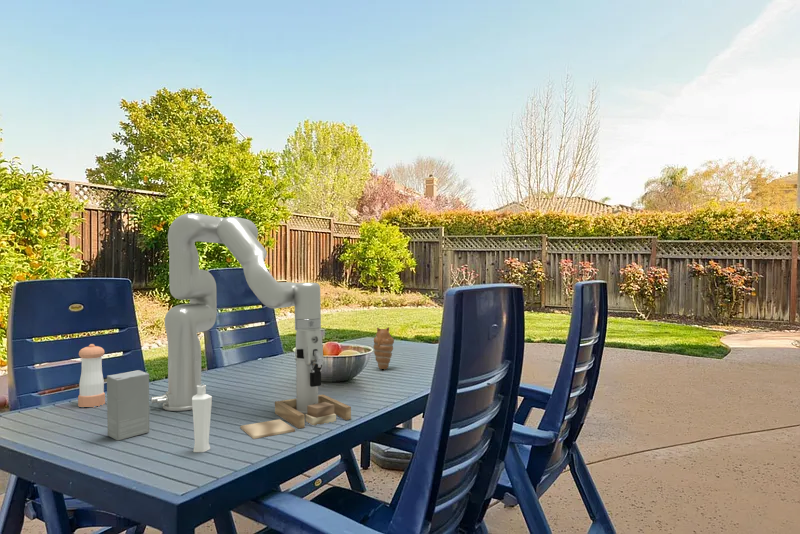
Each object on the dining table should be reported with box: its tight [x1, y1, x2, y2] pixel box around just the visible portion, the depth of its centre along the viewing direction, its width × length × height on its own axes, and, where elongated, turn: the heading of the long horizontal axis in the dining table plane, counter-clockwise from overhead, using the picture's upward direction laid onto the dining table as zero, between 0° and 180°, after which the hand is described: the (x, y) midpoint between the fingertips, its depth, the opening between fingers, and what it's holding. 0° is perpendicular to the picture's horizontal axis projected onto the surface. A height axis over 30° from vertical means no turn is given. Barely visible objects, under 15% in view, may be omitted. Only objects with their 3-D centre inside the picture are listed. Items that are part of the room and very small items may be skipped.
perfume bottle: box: [192, 384, 213, 453], centre depth 122 cm, size 5×4×15 cm
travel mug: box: [295, 349, 319, 418], centre depth 152 cm, size 6×7×20 cm
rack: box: [274, 394, 352, 430], centre depth 149 cm, size 16×18×4 cm
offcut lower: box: [305, 414, 337, 426], centre depth 144 cm, size 7×5×2 cm
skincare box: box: [106, 369, 150, 441], centre depth 133 cm, size 8×7×16 cm
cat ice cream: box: [372, 326, 395, 370], centre depth 219 cm, size 9×8×18 cm
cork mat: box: [239, 418, 296, 440], centre depth 137 cm, size 11×11×1 cm
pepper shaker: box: [77, 343, 106, 408], centre depth 163 cm, size 7×7×19 cm
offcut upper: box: [307, 402, 334, 418], centre depth 145 cm, size 6×4×2 cm
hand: (308, 383), depth 152 cm, fingers open, 9 cm apart
